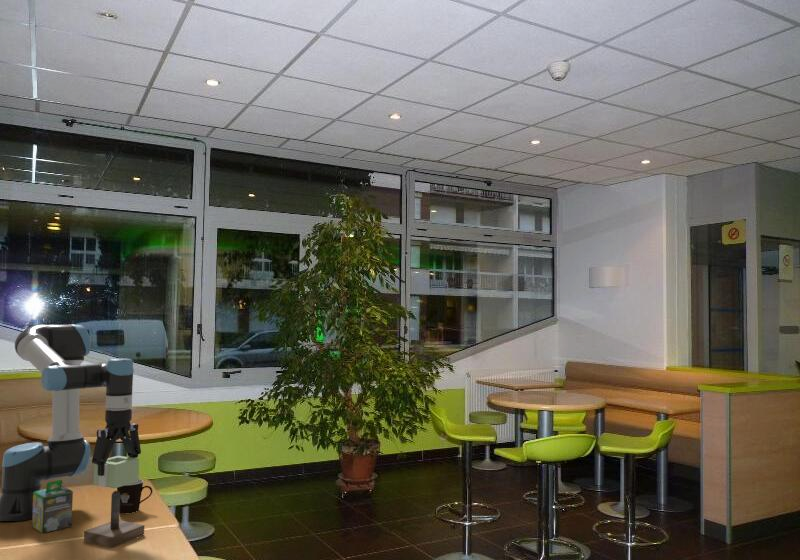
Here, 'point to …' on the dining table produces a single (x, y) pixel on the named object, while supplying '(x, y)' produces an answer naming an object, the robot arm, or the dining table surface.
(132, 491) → the coffee mug
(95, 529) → the rod stand
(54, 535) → the dining table surface
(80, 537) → the dining table surface
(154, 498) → the dining table surface
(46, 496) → the chalk box
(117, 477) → the green square socket block
